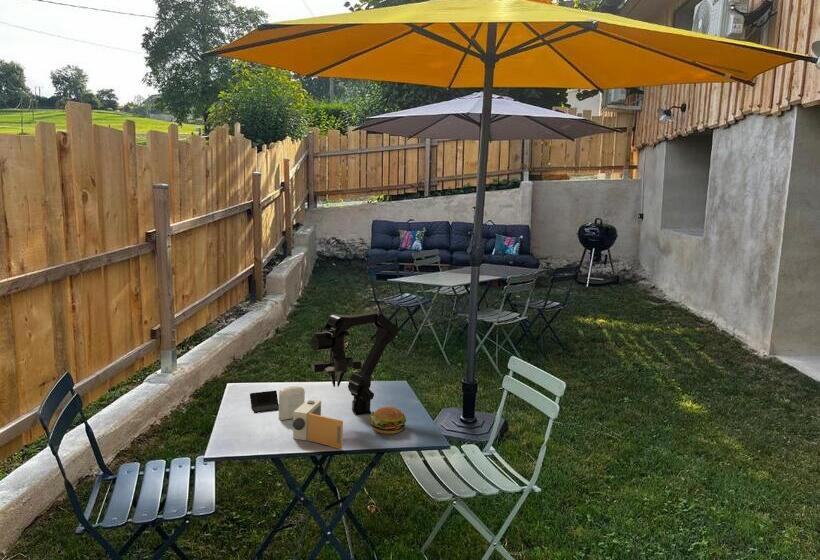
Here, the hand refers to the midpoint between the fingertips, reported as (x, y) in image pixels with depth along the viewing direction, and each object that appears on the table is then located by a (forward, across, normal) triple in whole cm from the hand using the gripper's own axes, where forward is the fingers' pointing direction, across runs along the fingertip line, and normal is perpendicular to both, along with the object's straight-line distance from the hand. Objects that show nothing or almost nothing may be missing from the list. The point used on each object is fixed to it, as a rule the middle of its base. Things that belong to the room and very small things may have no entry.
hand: (336, 386), depth 240 cm
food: (+13, +16, -15) cm, 26 cm away
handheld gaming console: (+14, -24, +19) cm, 33 cm away
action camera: (+13, -13, -10) cm, 21 cm away
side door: (+13, -10, -23) cm, 28 cm away
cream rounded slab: (+13, -16, +6) cm, 22 cm away
